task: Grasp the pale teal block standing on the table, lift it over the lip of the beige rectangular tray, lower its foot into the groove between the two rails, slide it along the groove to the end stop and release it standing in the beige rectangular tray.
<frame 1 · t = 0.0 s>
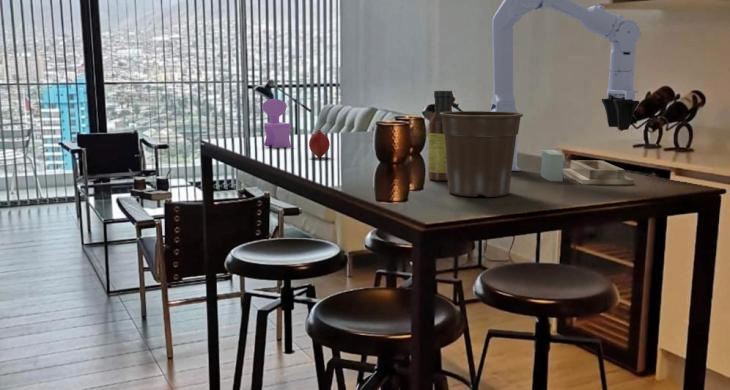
hand: (618, 128, 173), 10 cm above the table, fingers open, 7 cm apart
pale teal block: (551, 178, 161), on the table
plant pot: (478, 193, 143), on the table
beige rectangular tray: (595, 178, 161), on the table
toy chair: (277, 146, 228), on the table
onion: (319, 158, 199), on the table
sauce bottle: (441, 180, 160), on the table
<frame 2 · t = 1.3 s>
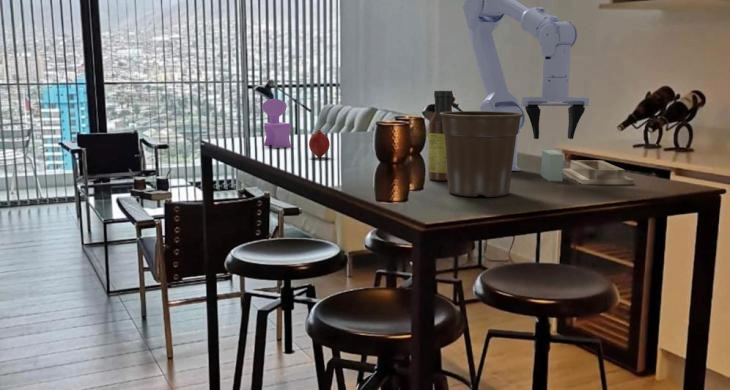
hand: (553, 138, 160), 9 cm above the table, fingers open, 7 cm apart
nothing on the table moved.
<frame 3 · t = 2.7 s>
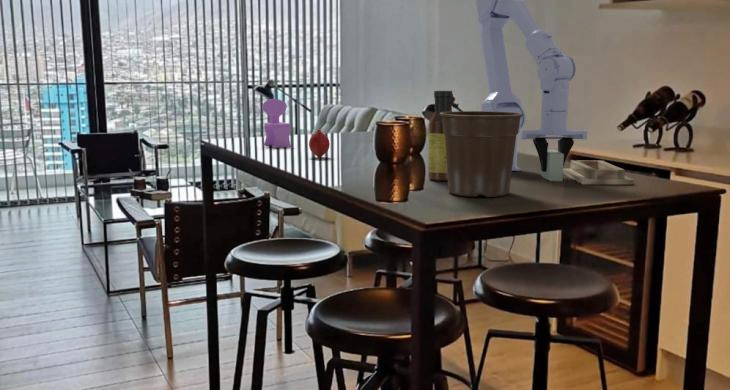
hand: (551, 171, 161), 2 cm above the table, fingers closed on pale teal block, 3 cm apart
pale teal block: (551, 178, 161), on the table, touching gripper
everything else where it was.
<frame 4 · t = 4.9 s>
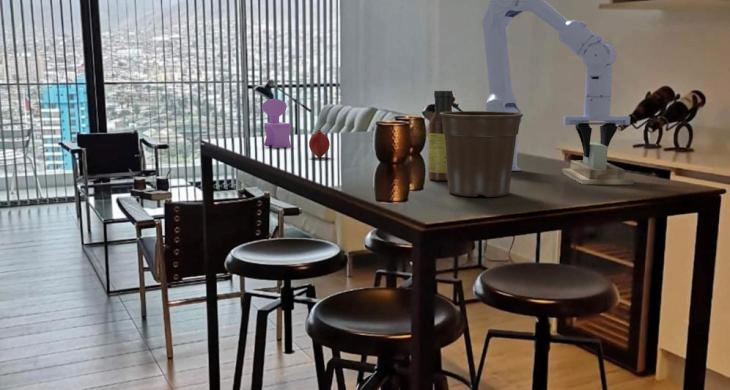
hand: (594, 156, 162), 5 cm above the table, fingers closed on pale teal block, 3 cm apart
pale teal block: (594, 170, 163), point 2 cm above the table, touching gripper
everything else where it was.
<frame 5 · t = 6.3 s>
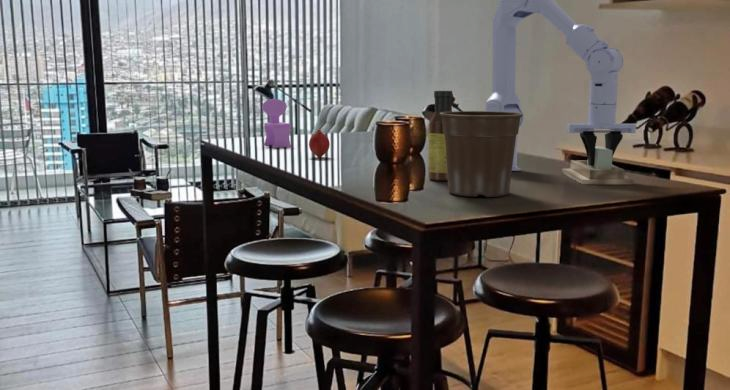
hand: (599, 165, 159), 3 cm above the table, fingers closed on pale teal block, 3 cm apart
pale teal block: (598, 175, 159), point 1 cm above the table, touching gripper, beige rectangular tray
everything else where it was.
when the fingers open (3 cm above the table, at t = 7.2 s): pale teal block stays where it is, resting on beige rectangular tray.
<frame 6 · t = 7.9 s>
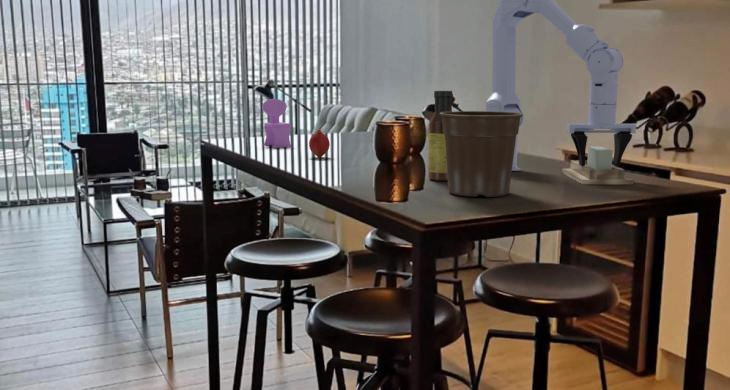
hand: (599, 165, 159), 3 cm above the table, fingers open, 7 cm apart
pale teal block: (598, 175, 159), point 1 cm above the table, touching beige rectangular tray
everything else where it was.
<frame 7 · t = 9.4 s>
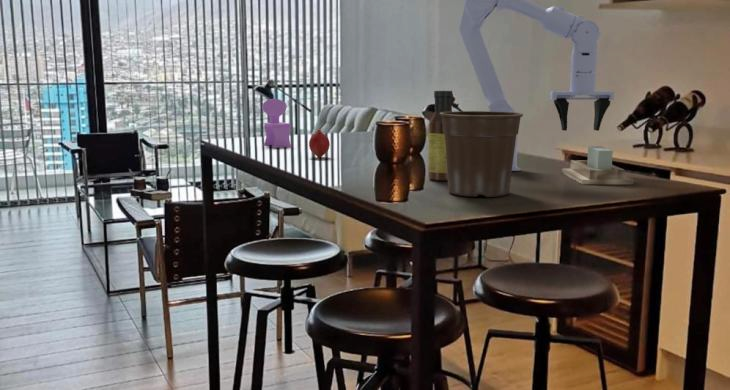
hand: (580, 130, 170), 10 cm above the table, fingers open, 7 cm apart
nothing on the table moved.
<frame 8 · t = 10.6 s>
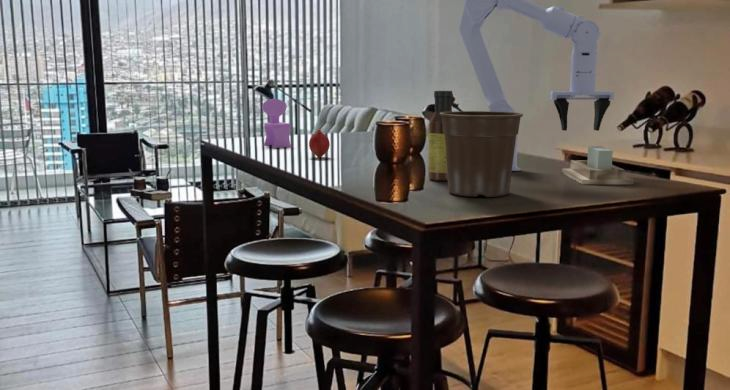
hand: (580, 130, 170), 10 cm above the table, fingers open, 7 cm apart
nothing on the table moved.
at the end: pale teal block 0.9 cm from the target spot on the beige rectangular tray, point 1.0 cm above the beige rectangular tray's base; pale teal block tilted 0°; the gripper is holding nothing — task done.
